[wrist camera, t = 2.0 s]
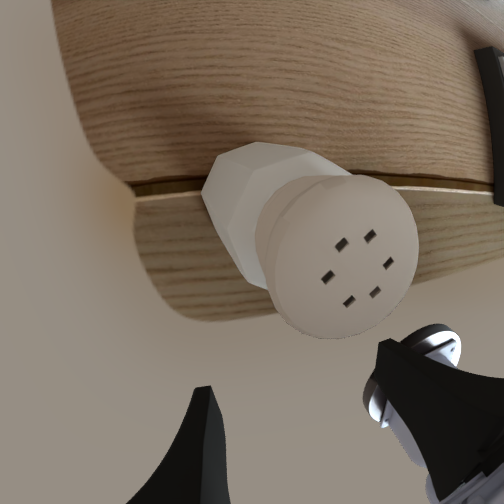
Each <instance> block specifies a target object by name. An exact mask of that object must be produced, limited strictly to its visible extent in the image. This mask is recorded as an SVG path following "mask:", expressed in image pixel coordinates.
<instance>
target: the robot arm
mask: <svg viewBox="0 0 504 504" xmlns="http://www.w3.org/2000/svg"><path fill="white" fill-rule="evenodd" d="M456 344H457V342H456V341H455V340H451V341H450V342H448V343H446V344H444V345H442V346H440V347H438V348H436V349H434V350H432V351H430V352H428V353H426V354H424V355H423V354H421V353H419V352H417V351H415V350H413V349H411V348H409V347H407V346H405V345H403V344H401V343H399V342H397V341H395V340H393V339H391V338H389V339H387V340H384V341H381V342H379V344H378V352H377V359H376V366H375V373H374V376H375V378H376V380H377V382H378V384H379V386H380V388H381V390H382V392H383V394H384V395H385V396H386V398H387V401H386V405H385V409H384V412H383V416H382V419H381V423H380V426H381V427H382V428H384V427H386V426H388V425H389V426H390V427H391V429H392V431H393V432H394V434H395V435H396V437H397V438H398V440H399V442H400V443H401V445H402V446H403V448H404V449H405V451H406V453H407V454H408V456H409V457H410V459H411V460H412V461H413V462H414V463H415V464H417V465H419V466H421V467H425V468H427V469H428V471H429V474H428V476H427V479H426V494H427V497H428V499H429V501H430V503H431V504H504V378H494V377H487V376H482V375H476V374H472V373H469V372H465V371H462V370H459V369H458V368H457V367H456V366H455V365H454V364H453V363H452V362H451V360H452V357H453V354H454V351H455V347H456ZM225 441H226V440H225V431H224V424H223V418H222V414H221V411H220V409H219V406H218V404H217V401H216V398H215V396H214V393H213V390H212V388H211V386H204V387H197V388H195V389H194V392H193V395H192V398H191V401H190V404H189V407H188V409H187V412H186V415H185V417H184V419H183V422H182V424H181V426H180V429H179V431H178V433H177V435H176V437H175V439H174V441H173V443H172V445H171V447H170V449H169V450H168V452H167V454H166V455H165V457H164V458H163V460H162V462H161V463H160V465H159V466H158V467H157V469H156V470H155V472H154V473H153V474H152V476H151V477H150V478H149V480H148V481H147V482H146V483H145V485H144V486H143V487H142V488H141V489H140V490H139V491H138V492H137V493H136V494H135V495H134V496H133V497H132V499H131V500H129V501H128V502H127V503H126V504H231V503H230V497H229V492H228V484H227V468H226V443H225Z"/></svg>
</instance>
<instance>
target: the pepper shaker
mask: <svg viewBox="0 0 504 504" xmlns="http://www.w3.org/2000/svg"><path fill="white" fill-rule="evenodd" d="M201 195H202V198H203V200H204V203H205V205H206V208H207V210H208V213H209V215H210V218H211V220H212V223H213V225H214V227H215V230H216V232H217V233H218V235H219V237H220V239H221V240H222V242H223V244H224V245H225V247H226V249H227V250H228V252H229V254H230V256H231V257H232V259H233V261H234V262H235V264H236V266H237V267H238V269H239V271H240V272H241V274H242V275H243V277H244V278H245V279H246V280H247V281H248V283H250V284H253V285H256V286H258V287H261V288H264V289H267V290H268V291H269V294H270V296H271V299H272V301H273V304H274V307H275V309H276V310H277V311H278V313H279V314H280V315H281V316H282V318H283V319H284V320H285V321H286V323H287V324H289V325H290V326H292V327H293V328H295V329H296V330H298V331H299V332H301V333H303V334H306V335H309V336H313V337H316V338H320V339H339V338H345V337H349V336H353V335H357V334H360V333H362V332H364V331H366V330H368V329H370V328H372V327H374V326H376V325H377V324H378V323H380V322H381V321H382V320H383V319H385V318H386V317H387V316H388V315H389V314H391V312H392V311H393V310H394V309H395V308H396V307H397V305H398V304H399V303H400V302H401V300H402V299H403V297H404V295H405V294H406V292H407V290H408V288H409V287H410V285H411V283H412V280H413V277H414V274H415V270H416V267H417V262H418V252H419V242H418V234H417V227H416V223H415V220H414V218H413V215H412V213H411V210H410V208H409V206H408V205H407V203H406V202H405V201H404V199H403V198H402V197H401V195H400V194H399V193H398V192H397V191H396V190H395V189H393V188H392V187H390V186H389V185H388V184H386V183H385V182H383V181H381V180H378V179H375V178H372V177H368V176H365V175H352V174H351V173H349V172H347V171H346V170H344V169H342V168H341V167H339V166H337V165H336V164H334V163H332V162H331V161H329V160H327V159H325V158H324V157H322V156H320V155H318V154H316V153H314V152H312V151H309V150H306V149H303V148H299V147H293V146H286V145H279V144H272V143H264V142H254V143H251V144H248V145H245V146H242V147H239V148H237V149H234V150H231V151H228V152H226V153H223V154H220V155H218V156H217V158H216V160H215V162H214V164H213V166H212V169H211V171H210V173H209V175H208V177H207V180H206V182H205V184H204V186H203V189H202V191H201Z"/></svg>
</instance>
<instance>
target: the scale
mask: <svg viewBox="0 0 504 504" xmlns="http://www.w3.org/2000/svg"><path fill="white" fill-rule="evenodd" d="M474 52H475V56H476V59H477V63H478V66H479V70H480V74H481V78H482V82H483V87H484V92H485V97H486V102H487V107H488V113H489V120H490V128H491V136H492V146H493V160H494V204H496V205H499V206H503V207H504V53H503V52H501V51H499V50H498V49H496V48H494V47H493V46H491V47H486V48H482V49H477V50H474Z"/></svg>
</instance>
